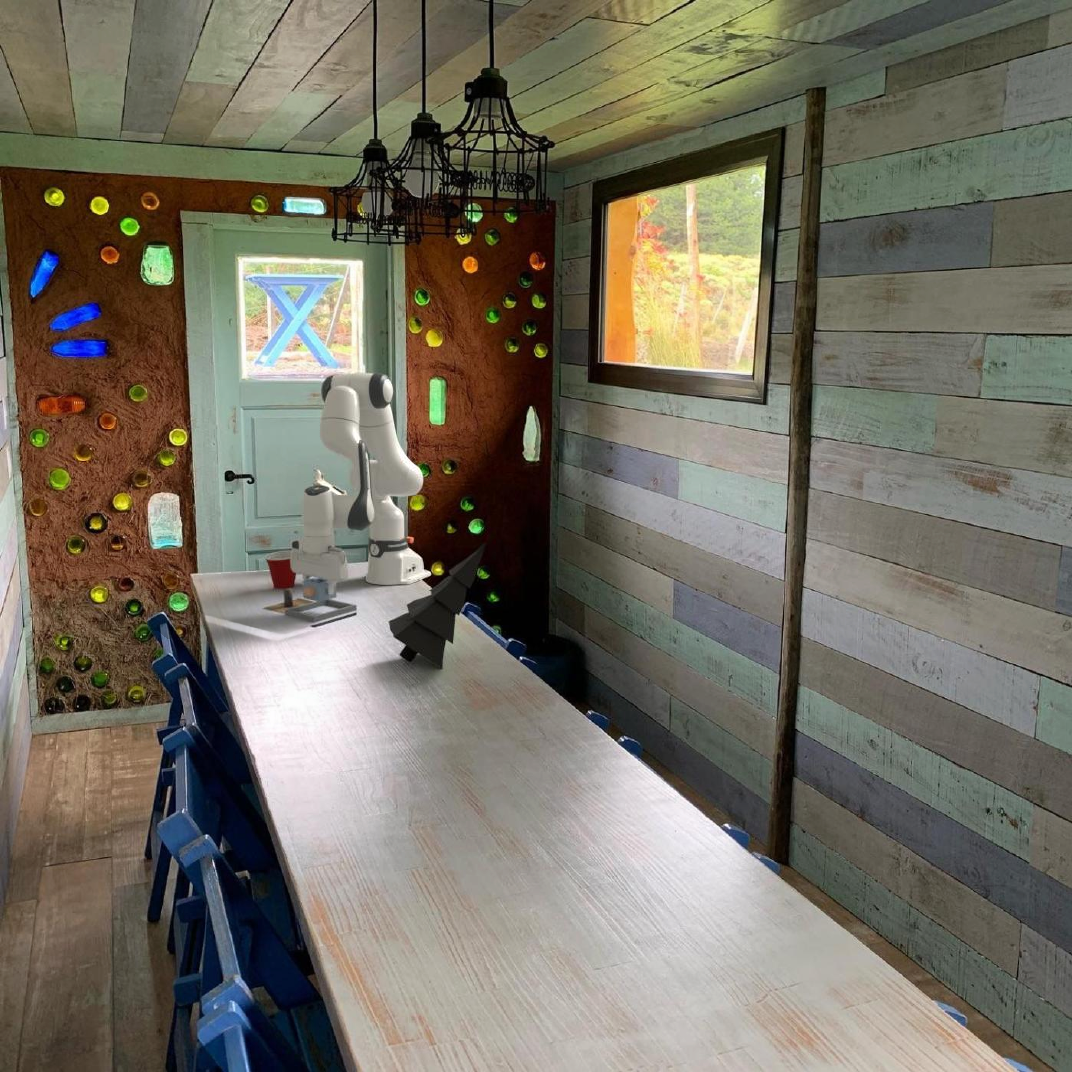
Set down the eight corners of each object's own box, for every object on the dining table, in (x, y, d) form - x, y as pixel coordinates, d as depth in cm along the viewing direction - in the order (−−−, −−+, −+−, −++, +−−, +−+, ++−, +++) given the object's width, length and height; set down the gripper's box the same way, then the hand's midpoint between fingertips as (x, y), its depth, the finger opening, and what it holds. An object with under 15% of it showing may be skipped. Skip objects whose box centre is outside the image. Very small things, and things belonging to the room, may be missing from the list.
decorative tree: (433, 682, 263) (515, 565, 262) (383, 651, 259) (466, 532, 258) (426, 664, 278) (504, 552, 276) (378, 634, 273) (457, 521, 272)
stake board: (299, 603, 323) (298, 582, 321) (322, 608, 317) (321, 587, 316) (262, 613, 312) (261, 591, 310) (285, 618, 306) (284, 596, 305)
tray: (327, 608, 317) (327, 598, 317) (356, 615, 310) (356, 605, 310) (285, 620, 304) (285, 610, 304) (314, 627, 298) (314, 617, 297)
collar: (320, 593, 310) (320, 576, 310) (336, 597, 307) (336, 580, 306) (299, 599, 304) (298, 581, 303) (315, 602, 300) (314, 585, 299)
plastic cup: (264, 588, 340) (262, 551, 338) (298, 585, 344) (297, 548, 341) (267, 596, 330) (265, 558, 328) (303, 593, 334) (302, 555, 331)
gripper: (353, 547, 300) (354, 595, 302) (302, 538, 311) (304, 584, 314) (336, 550, 295) (337, 599, 297) (285, 541, 306) (287, 588, 309)
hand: (319, 592), depth 306 cm, fingers closed on collar, 6 cm apart
